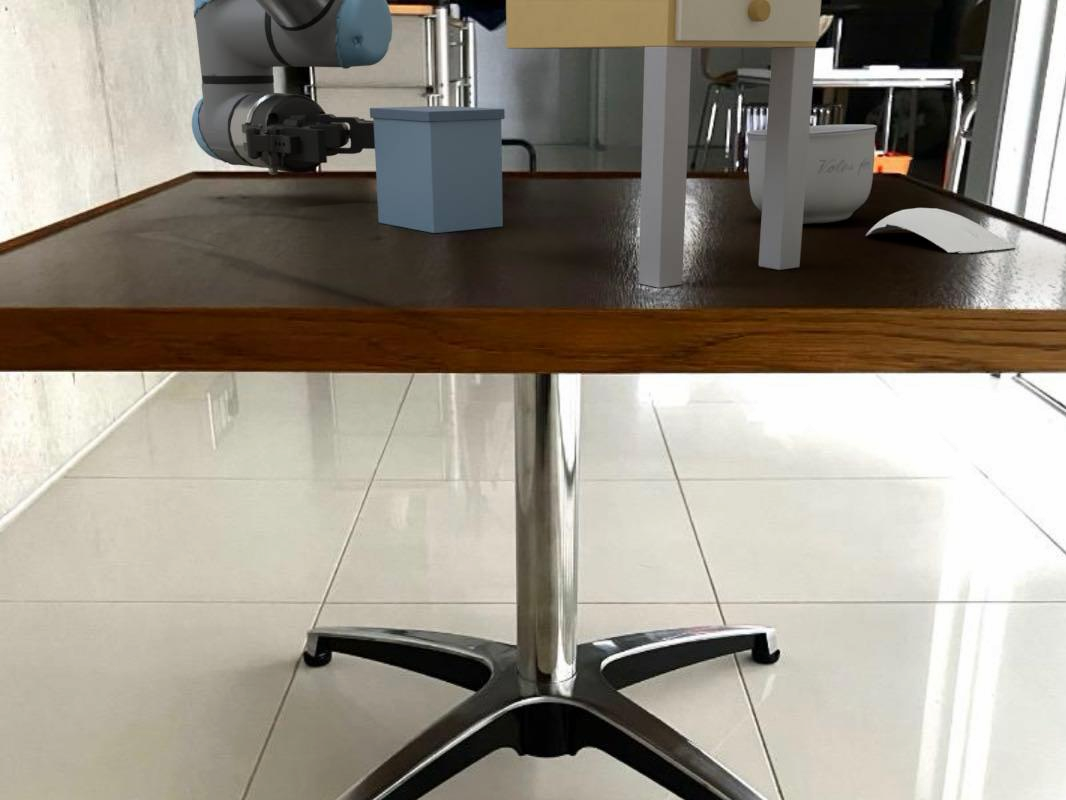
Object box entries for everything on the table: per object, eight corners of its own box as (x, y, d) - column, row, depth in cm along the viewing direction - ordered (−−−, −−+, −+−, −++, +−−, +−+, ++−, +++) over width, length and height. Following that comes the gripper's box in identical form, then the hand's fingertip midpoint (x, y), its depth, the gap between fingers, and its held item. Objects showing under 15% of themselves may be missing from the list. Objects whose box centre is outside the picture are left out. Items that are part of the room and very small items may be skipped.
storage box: (375, 222, 107) (369, 107, 104) (446, 216, 111) (442, 105, 108) (433, 234, 100) (429, 111, 97) (506, 226, 104) (504, 108, 101)
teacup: (831, 232, 100) (839, 129, 97) (718, 222, 106) (723, 125, 103) (905, 216, 110) (915, 123, 107) (798, 208, 116) (805, 119, 113)
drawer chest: (508, 257, 88) (504, -83, 80) (643, 241, 95) (652, -72, 87) (674, 291, 75) (689, -111, 67) (815, 270, 82) (844, -95, 74)
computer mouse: (957, 254, 88) (961, 221, 87) (850, 235, 98) (853, 205, 98) (1026, 248, 91) (1031, 216, 90) (915, 230, 101) (918, 201, 100)
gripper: (389, 164, 133) (503, 178, 118) (169, 178, 119) (265, 196, 103) (386, 91, 130) (502, 95, 115) (160, 96, 116) (257, 102, 101)
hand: (390, 143), depth 109 cm, fingers open, 13 cm apart
